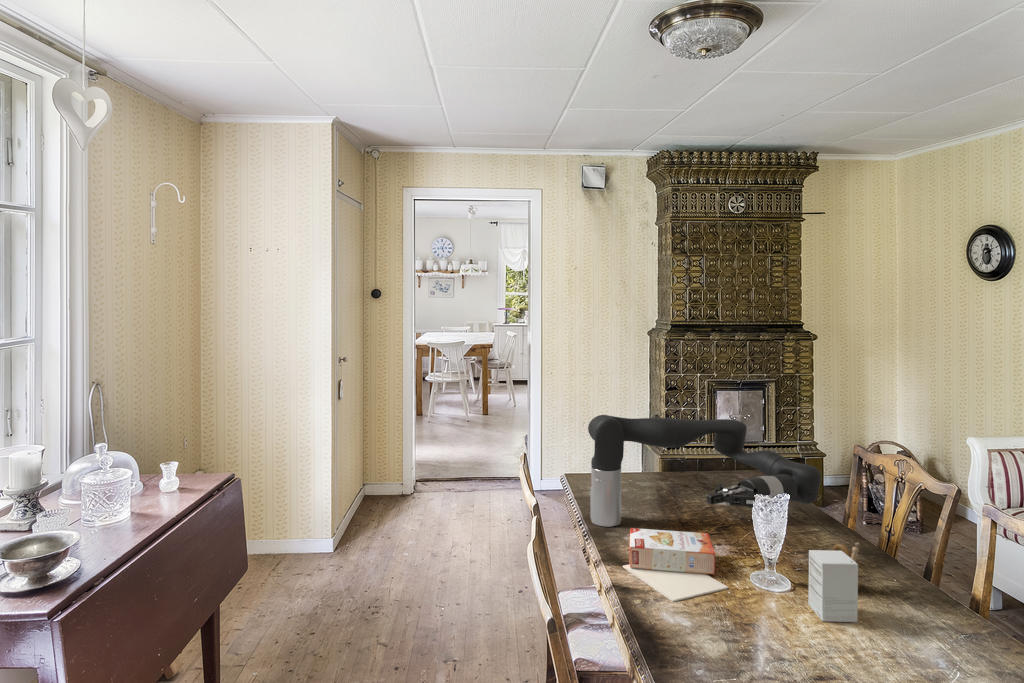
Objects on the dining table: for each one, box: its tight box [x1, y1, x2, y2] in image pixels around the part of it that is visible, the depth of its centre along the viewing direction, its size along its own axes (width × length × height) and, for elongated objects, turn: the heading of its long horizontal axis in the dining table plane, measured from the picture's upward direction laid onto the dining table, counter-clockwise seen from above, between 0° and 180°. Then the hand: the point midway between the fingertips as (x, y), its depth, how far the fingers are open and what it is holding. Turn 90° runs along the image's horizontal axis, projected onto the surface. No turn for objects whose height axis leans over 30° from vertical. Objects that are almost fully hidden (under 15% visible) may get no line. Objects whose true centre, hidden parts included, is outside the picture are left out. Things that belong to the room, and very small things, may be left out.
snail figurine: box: [832, 542, 860, 563], centre depth 138 cm, size 5×6×12 cm
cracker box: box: [628, 527, 716, 575], centre depth 153 cm, size 14×6×21 cm
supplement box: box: [807, 549, 859, 623], centre depth 126 cm, size 7×7×13 cm
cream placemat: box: [622, 563, 729, 603], centre depth 144 cm, size 20×16×1 cm
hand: (708, 499), depth 148 cm, fingers closed
